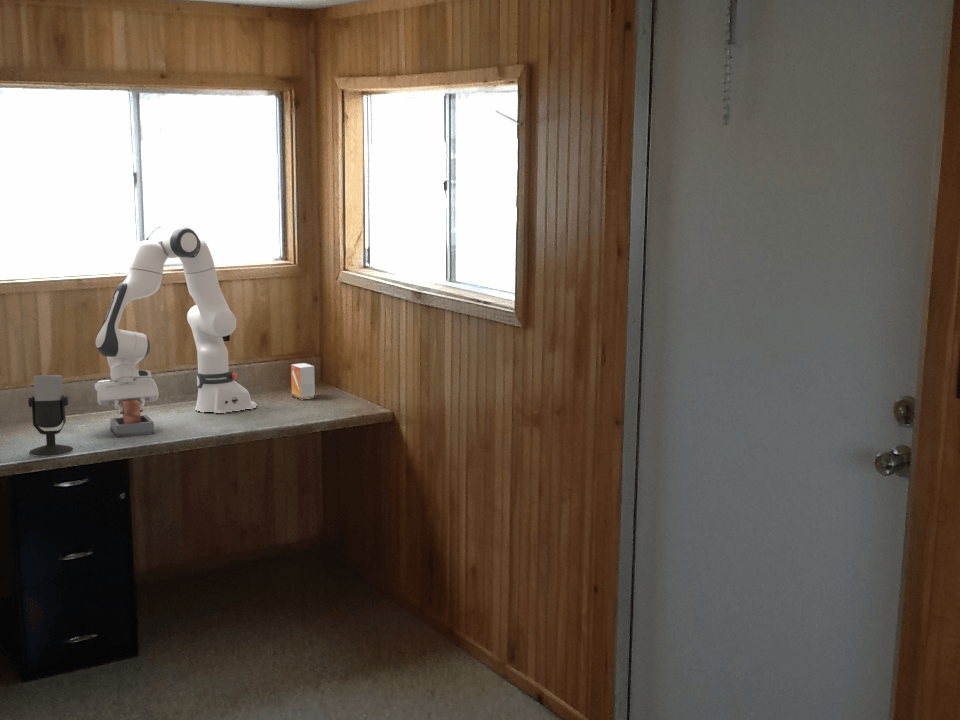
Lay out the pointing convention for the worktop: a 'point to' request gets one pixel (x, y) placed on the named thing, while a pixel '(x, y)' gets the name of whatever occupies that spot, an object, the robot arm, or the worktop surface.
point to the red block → (131, 411)
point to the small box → (302, 380)
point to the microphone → (48, 413)
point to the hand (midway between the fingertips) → (131, 412)
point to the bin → (131, 427)
